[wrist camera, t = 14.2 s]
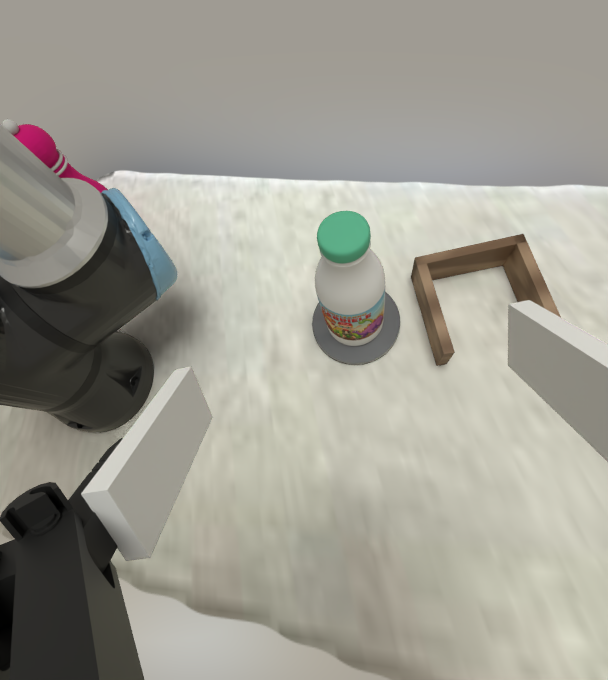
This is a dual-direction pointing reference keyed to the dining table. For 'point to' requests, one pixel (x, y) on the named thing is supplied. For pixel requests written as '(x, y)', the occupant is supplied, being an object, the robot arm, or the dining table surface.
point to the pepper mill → (46, 151)
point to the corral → (471, 259)
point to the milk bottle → (349, 279)
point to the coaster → (362, 352)
